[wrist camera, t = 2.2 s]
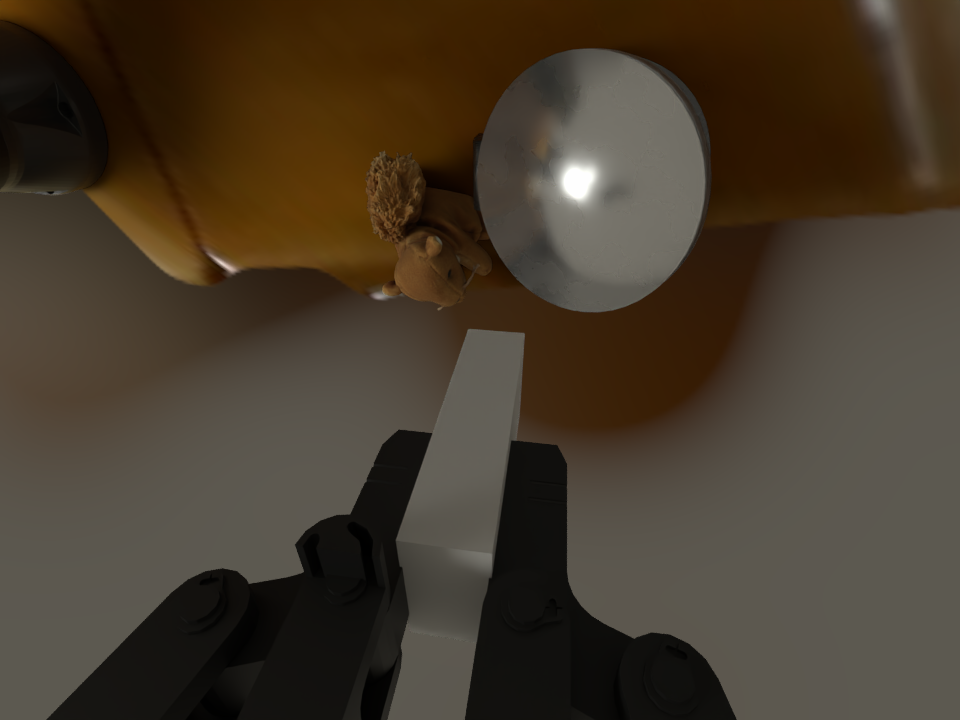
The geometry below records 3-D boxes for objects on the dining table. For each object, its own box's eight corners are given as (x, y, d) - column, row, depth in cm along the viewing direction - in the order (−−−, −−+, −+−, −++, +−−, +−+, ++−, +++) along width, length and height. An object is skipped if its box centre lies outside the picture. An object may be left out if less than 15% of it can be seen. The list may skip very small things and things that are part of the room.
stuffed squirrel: (445, 295, 52) (414, 361, 41) (350, 191, 47) (286, 236, 37) (517, 240, 48) (503, 299, 37) (419, 120, 43) (370, 146, 32)
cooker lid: (481, 270, 37) (470, 275, 36) (482, 46, 29) (467, 47, 28) (674, 334, 29) (665, 343, 28) (750, 50, 21) (741, 50, 20)
